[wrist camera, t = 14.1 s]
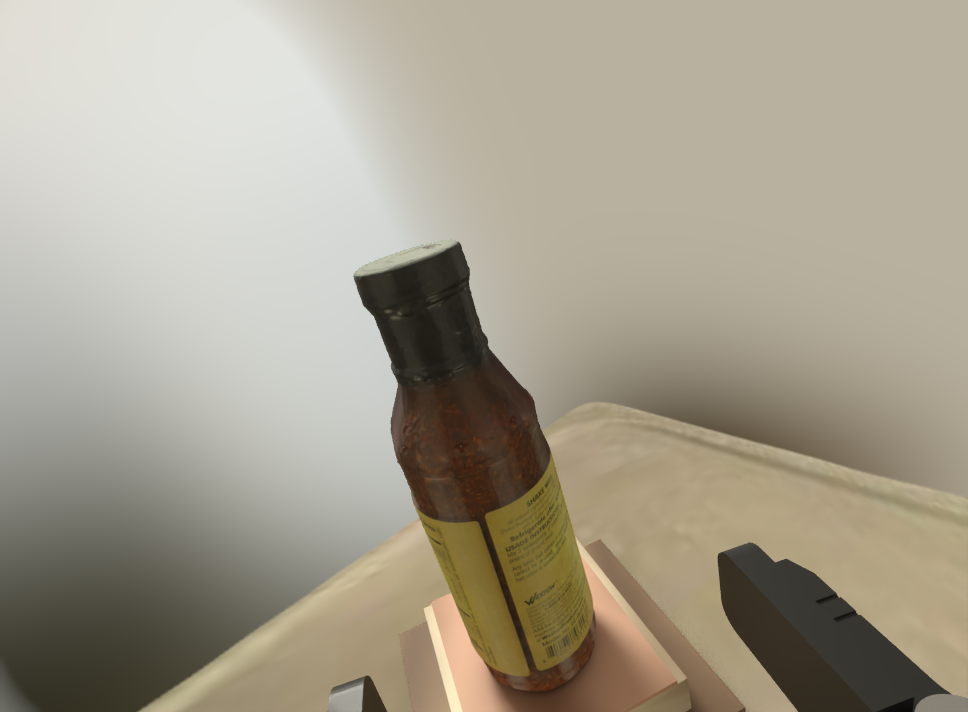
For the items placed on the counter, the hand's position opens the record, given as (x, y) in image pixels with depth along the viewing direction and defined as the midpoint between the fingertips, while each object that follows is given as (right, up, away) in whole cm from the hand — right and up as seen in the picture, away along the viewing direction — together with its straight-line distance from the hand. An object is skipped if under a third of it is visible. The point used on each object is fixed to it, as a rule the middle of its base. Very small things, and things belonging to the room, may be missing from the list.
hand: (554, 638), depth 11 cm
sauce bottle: (+1, -8, +14) cm, 16 cm away
